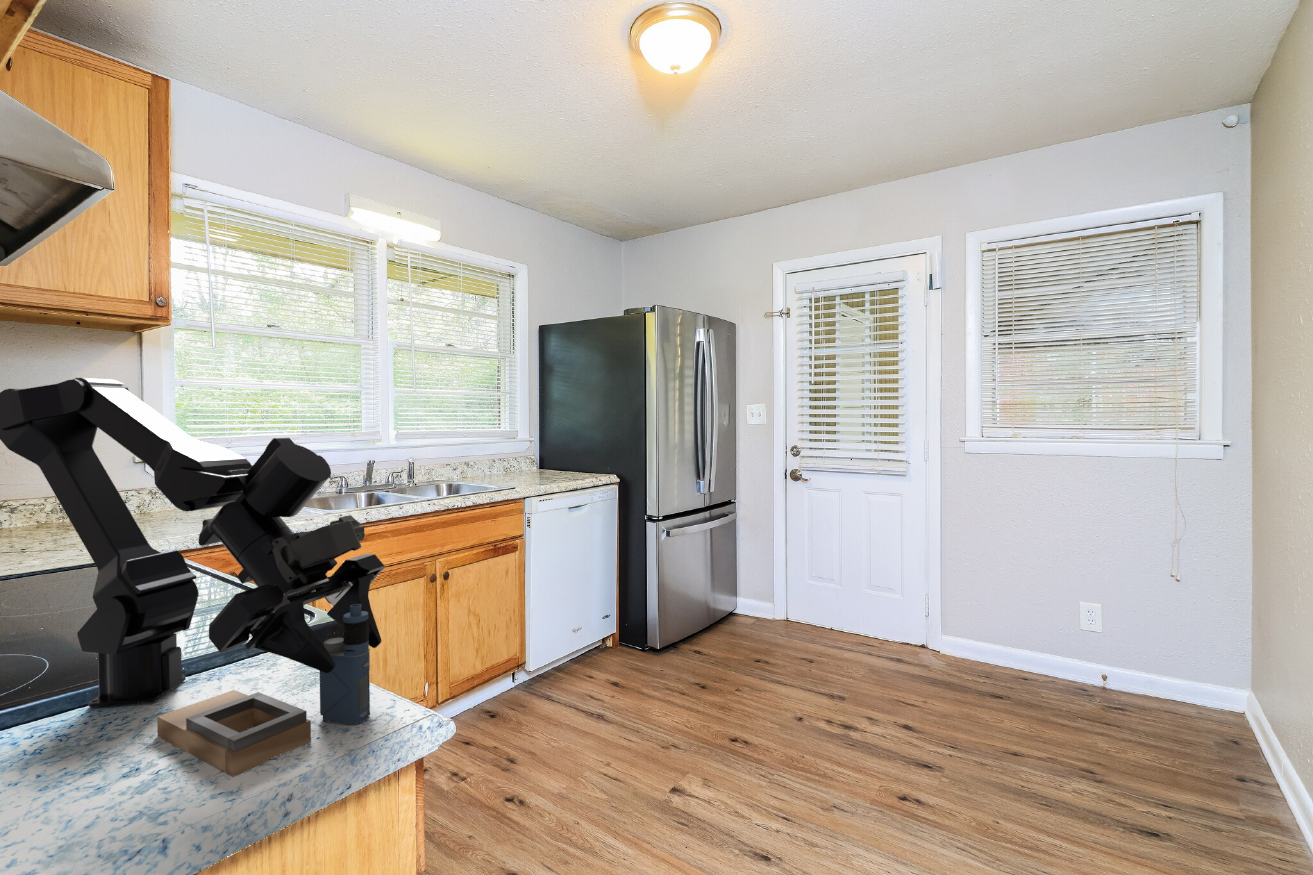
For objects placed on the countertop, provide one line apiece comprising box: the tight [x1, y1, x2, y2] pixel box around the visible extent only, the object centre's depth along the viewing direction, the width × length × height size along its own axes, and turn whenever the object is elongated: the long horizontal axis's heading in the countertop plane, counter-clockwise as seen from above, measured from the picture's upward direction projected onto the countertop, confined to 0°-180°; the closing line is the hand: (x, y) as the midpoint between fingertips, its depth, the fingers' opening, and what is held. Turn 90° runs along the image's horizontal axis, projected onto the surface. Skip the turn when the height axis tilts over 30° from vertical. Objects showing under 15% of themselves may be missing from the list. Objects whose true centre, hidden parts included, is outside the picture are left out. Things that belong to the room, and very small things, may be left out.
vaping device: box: [319, 604, 371, 725], centre depth 65 cm, size 3×5×12 cm, turn 78°
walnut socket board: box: [156, 689, 312, 777], centre depth 61 cm, size 14×7×3 cm, turn 60°
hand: (356, 656), depth 65 cm, fingers open, 7 cm apart
